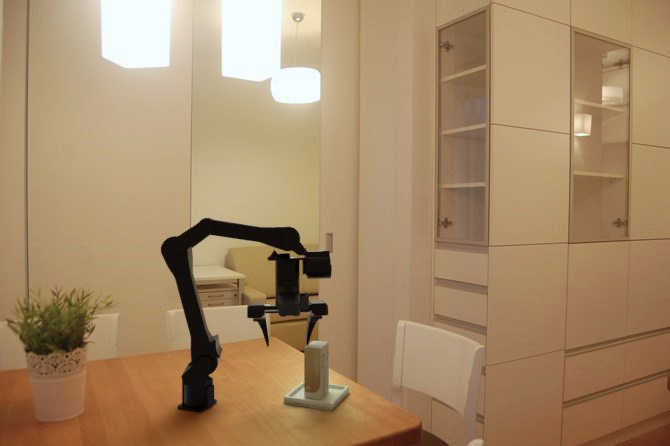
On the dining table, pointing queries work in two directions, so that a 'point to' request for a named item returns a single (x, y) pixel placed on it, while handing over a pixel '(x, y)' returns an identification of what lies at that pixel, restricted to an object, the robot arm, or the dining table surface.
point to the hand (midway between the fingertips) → (287, 345)
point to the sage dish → (326, 403)
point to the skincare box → (316, 370)
